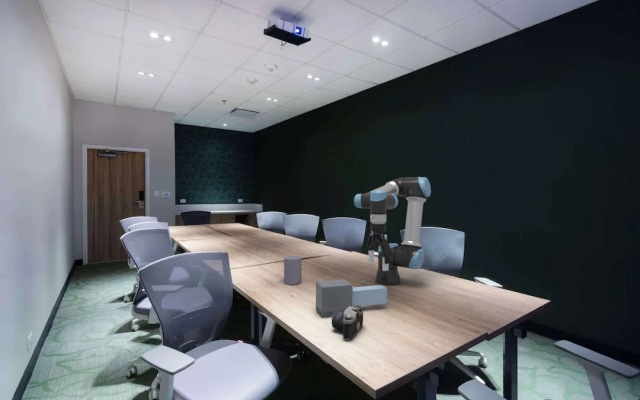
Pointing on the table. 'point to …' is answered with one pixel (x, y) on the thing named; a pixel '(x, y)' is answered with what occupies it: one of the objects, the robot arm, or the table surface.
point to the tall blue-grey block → (369, 295)
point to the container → (292, 270)
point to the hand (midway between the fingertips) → (378, 266)
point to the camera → (348, 321)
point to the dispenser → (333, 297)
